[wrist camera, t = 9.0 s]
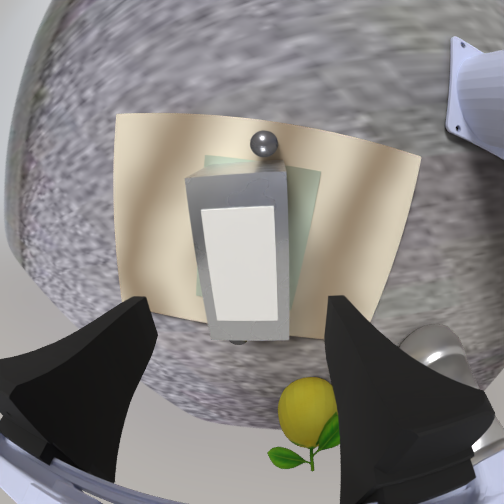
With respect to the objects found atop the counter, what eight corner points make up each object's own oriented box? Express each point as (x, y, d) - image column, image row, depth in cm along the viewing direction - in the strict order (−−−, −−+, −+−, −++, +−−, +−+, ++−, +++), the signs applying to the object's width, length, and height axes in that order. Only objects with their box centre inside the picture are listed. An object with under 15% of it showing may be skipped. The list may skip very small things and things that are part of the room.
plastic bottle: (445, 352, 23) (510, 513, 5) (388, 373, 24) (430, 554, 6) (452, 305, 20) (552, 489, 2) (388, 327, 22) (456, 551, 3)
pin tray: (414, 155, 16) (440, 162, 13) (358, 334, 22) (367, 363, 19) (123, 114, 16) (95, 114, 13) (127, 298, 23) (109, 322, 19)
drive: (283, 159, 16) (286, 171, 11) (287, 292, 20) (289, 341, 15) (209, 164, 16) (183, 178, 12) (225, 293, 20) (210, 341, 15)
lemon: (270, 397, 26) (265, 482, 17) (273, 359, 24) (268, 459, 15) (334, 397, 26) (343, 480, 17) (346, 359, 23) (364, 454, 14)
